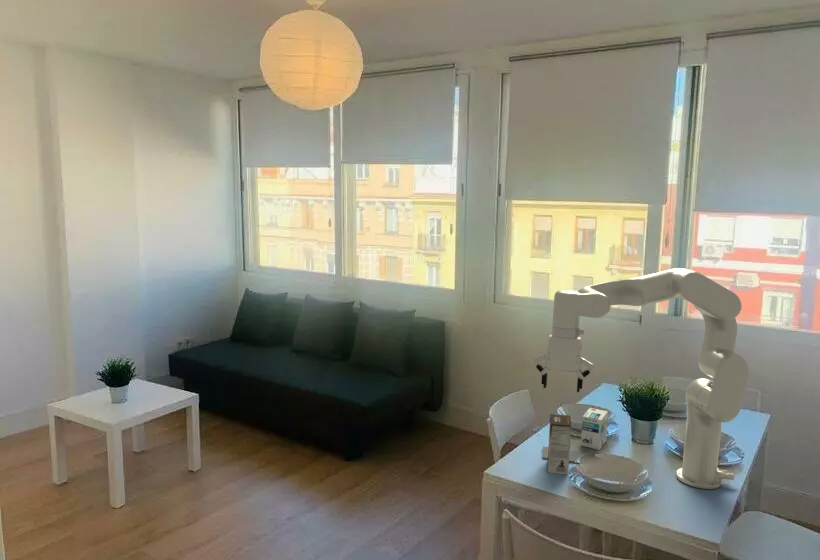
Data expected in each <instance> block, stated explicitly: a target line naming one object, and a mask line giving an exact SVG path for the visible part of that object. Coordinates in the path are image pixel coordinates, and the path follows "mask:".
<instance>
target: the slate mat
mask: <svg viewBox="0 0 820 560" xmlns="http://www.w3.org/2000/svg"><path fill="white" fill-rule="evenodd" d="M548 448H549V446H543V447H542V456H541V457H542V460H547V461H548ZM580 453H581V451H580V450H576V449H575V450H574V449H570V454H569V463H570V462H571V463H573V464H575V463H574V462H575V461H576V460H577V459H578V458H579V457H580V458H581V454H580Z"/></svg>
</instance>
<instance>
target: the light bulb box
mask: <svg viewBox="0 0 820 560" xmlns="http://www.w3.org/2000/svg"><path fill="white" fill-rule="evenodd" d="M608 419H609V411H607V410H602V409H597V408H592V407H589V408H588V409H587V410H586V412H584V415H582V423H581V424H582V425H581V440H580V446H581V447H585V448H589V449H594V450H598V451H600V450H601V448H602V447H603V445H605V443H606V441H607V434H608V423H609V422H608Z"/></svg>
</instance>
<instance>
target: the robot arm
mask: <svg viewBox="0 0 820 560" xmlns="http://www.w3.org/2000/svg"><path fill="white" fill-rule="evenodd" d="M675 299H682V300H685V301H686V302H689V303H690V304H691V305H693V307H694V308H695V309H696V310H697V311H698V312H699V313H700V314H701V316H702V318H703V321H704V334H703V338H702V344H701V347H700V352H699V355H698V361H697V362H698V363H697V364H698V367H699V369H700V371H701V372H702V373H704V375H706V376H708V377H710V378H712V379H713V380H712V379H708V378H704V377H701V378H697V379H694V380H692V381H691V382H690V383H689V384H688V386H687V387H686V388H687V389H686V390H685V391H686V392H685V403H686V424H685V434H684V435H685V436H684V446H683V455H682V456H683V457H682V467H680V468H678V469H677V470H676V473H675V474H676V475H675V476H676V478H677V479H678V481H681V482H682V483H684V484H685V485H688V486H689V487H692V488H697V489H702V490H714V489H715V490H716V489H718V488H720V487H721V486H722V482H723V481H722V480H723V479H724V480H727V481H728V480H729V481H734V480H735V474H734V473H732V472H731V473H730V472H728V470H726V469H719V467H718V463H719V453H720V444H721V443H720V441H721V435H722V423H729V422H732V421H733V420H736V419H735V418H737V417H738V416H739V414H740V412H741V409H742V406H743V403H744V399H745V395H746V391H747V387H748V383H749V377H750V368H749V364H748V362H747V361H746V359H745V357H743V356H742V355H740V354H739V353H737V352H735V347H736V341H737V334H738V324H737V319H736V317H738V316H739V315H740V314H741V311H742V301H741V299H740V298H739V296H738V295H737V294H736V293H735V292H734V291H732V290H730V289H728V288H726V287H724V285H722V284H719V283H717V282H716V281H714V280H712V279H711V278H709V277H707V276H706V275H704V274H702V273H700V272H698V271H695V270H691V269H688V268H681V267H677V268H676V267H675V268H671V269H666V270H662V271H660V272H656V273H650V274H645V275H643V276H642V275H641V276H638V277H637V276H636V277H632V278H624V279H619V280H611V281H605V282H604V281H603V282H601V283H600V282H599V283H596V284H591V285H589V286H583V287H582V288H580V289H578V290H577V291H575V290H570V289H561V290H560V289H559V290H557V291H555V293H554V297H553V311H552V312H553V313H552V314H553V315H552V327H551V334H549V337H548V340H547V346H546V353H544V354H541V355H537V356H536V357H534V358H533V360H532V361H533V363H534V365H535V367H536V370H538V371H539V372H540V374H541V385H543V386H542V387H543V389H546V388H547V385H548V372H549V371H551V370H552V371H559V372H567V373H575V374H576V375H577V382H576V383H577V384H576V393H580V390H582V389H583V382H584V381H583V380H584V379H585V378H586V377H587V376H589V375H590V373H591V372H592V370H593V369H594V367H595V366H594V363H593V362H590V361H589V360H587V359H585V358H584V357H583V356H582V355H583V354H582V353H583V349H582V346H583V345H582V344H583V343H582V338H581V337H580V336H583V335H584V332H585V331H584V330H582V329H581V328H580V317H586V318H591V319H600V318H604V317H605V316H606V315H608V314H609V312H610V310H611V306H619V305H620V306H622V305H623V306H631V307H645V306H649V305H654V304H657V303H661V302H665V301H666V302H667V301H669V300H675ZM543 360H545V366H544V367H543V365H541V363H540V362H541V361H543ZM582 365H585V366H586V367H587V368H586V369H584V371H583V370H581V367H582Z"/></svg>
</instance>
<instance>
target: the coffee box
mask: <svg viewBox="0 0 820 560" xmlns="http://www.w3.org/2000/svg"><path fill="white" fill-rule="evenodd" d="M549 415H550V417H549V429H548V431H549V432H548V433H549V434H548V447H549V448H548V460H547V472H548V473H551V474H559V475H567V474H569V467H570V465H569V464H570V462H569V454H570V450H571V439H572V438H571V436H572V435H571V434H572V418H571V415H569V414H568V415H567V414H557V413H556V414H554V413H551V414H549Z"/></svg>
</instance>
